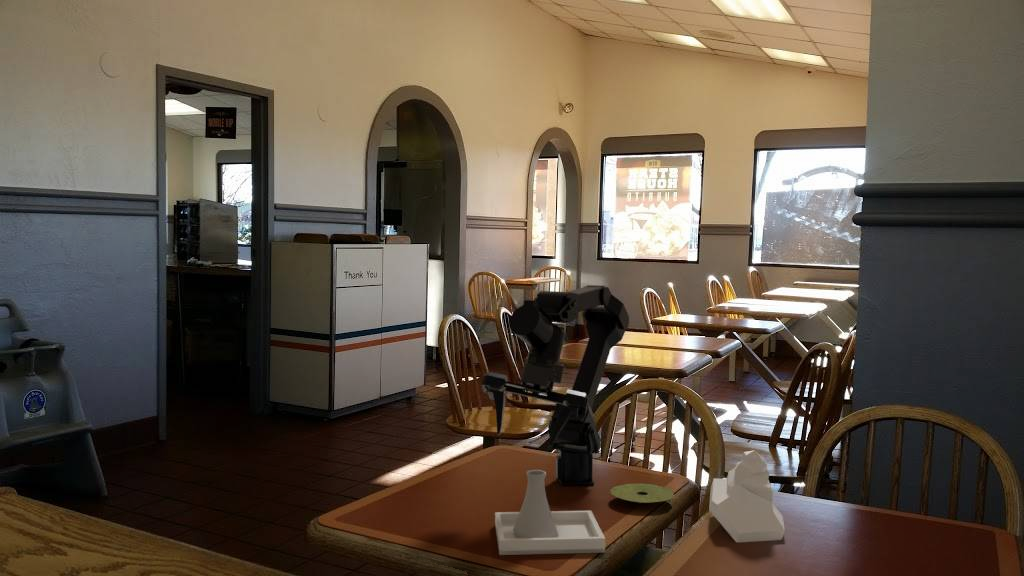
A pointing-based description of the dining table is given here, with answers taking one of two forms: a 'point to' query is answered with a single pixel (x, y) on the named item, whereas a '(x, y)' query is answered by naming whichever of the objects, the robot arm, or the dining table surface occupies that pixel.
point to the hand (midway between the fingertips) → (524, 440)
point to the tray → (574, 537)
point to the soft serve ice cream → (747, 502)
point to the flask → (535, 510)
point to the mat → (642, 493)
